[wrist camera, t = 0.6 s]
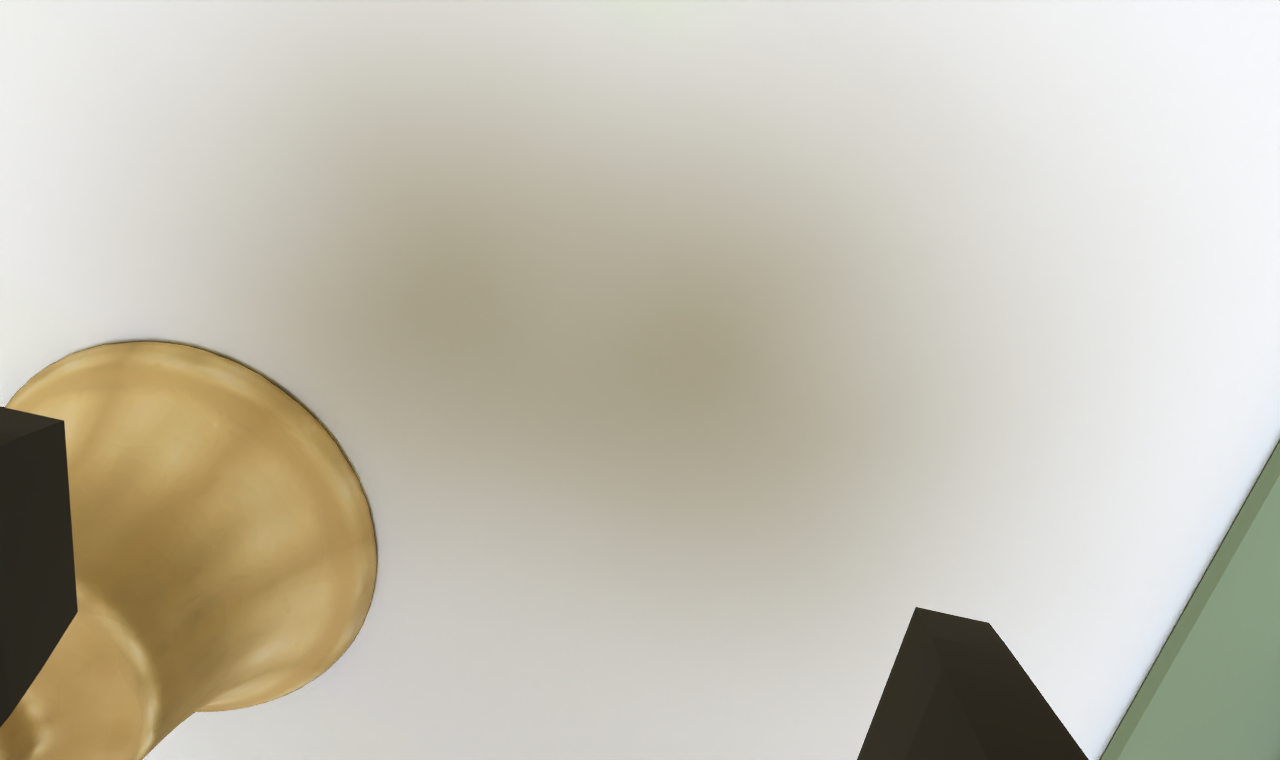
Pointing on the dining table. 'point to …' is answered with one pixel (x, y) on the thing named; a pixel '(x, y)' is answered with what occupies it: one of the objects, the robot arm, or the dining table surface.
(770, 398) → the dining table surface
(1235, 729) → the pitch mat
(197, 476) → the hand bell
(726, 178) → the dining table surface
